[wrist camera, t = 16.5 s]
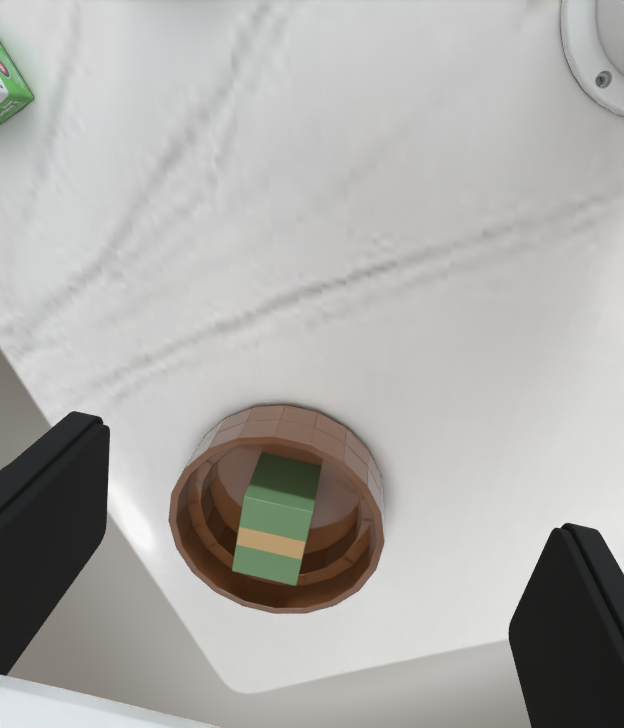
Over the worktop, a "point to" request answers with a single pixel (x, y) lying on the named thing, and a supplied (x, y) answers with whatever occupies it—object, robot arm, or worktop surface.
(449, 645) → the worktop surface
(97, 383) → the worktop surface
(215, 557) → the bowl
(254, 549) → the package
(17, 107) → the ink box
